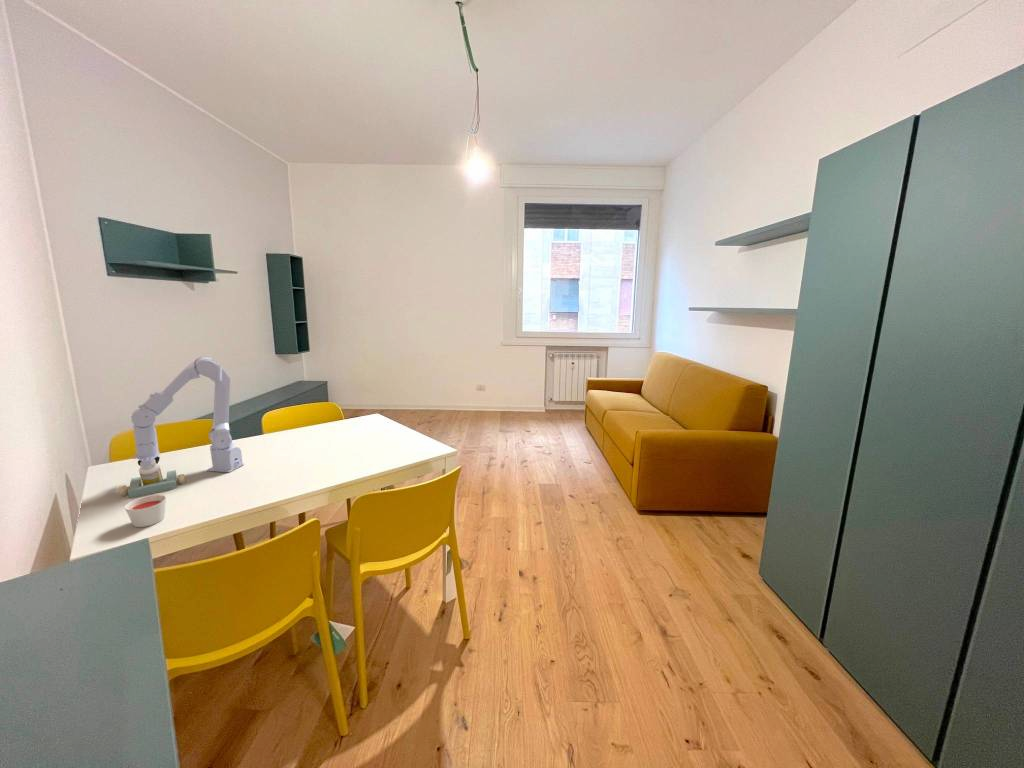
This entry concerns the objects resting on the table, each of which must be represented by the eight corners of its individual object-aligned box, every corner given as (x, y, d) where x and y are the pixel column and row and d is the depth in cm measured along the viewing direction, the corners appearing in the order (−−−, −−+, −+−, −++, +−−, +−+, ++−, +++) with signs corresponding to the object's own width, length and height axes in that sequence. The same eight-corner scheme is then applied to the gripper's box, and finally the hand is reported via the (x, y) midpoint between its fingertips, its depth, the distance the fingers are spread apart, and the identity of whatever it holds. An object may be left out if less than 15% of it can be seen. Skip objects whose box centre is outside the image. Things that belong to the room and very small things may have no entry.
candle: (130, 533, 111) (126, 513, 110) (126, 521, 117) (123, 502, 116) (171, 521, 118) (168, 501, 117) (166, 510, 124) (163, 491, 123)
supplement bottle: (150, 478, 142) (144, 456, 137) (167, 479, 142) (161, 457, 138) (139, 488, 137) (132, 466, 133) (157, 489, 138) (150, 467, 134)
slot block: (123, 486, 138) (121, 479, 138) (185, 474, 149) (183, 467, 148) (119, 500, 129) (117, 491, 129) (185, 486, 140) (183, 478, 139)
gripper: (132, 438, 141) (137, 473, 144) (128, 450, 130) (133, 488, 133) (159, 435, 146) (163, 469, 148) (156, 446, 135) (161, 483, 137)
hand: (151, 478), depth 141 cm, fingers closed, pressing on supplement bottle
